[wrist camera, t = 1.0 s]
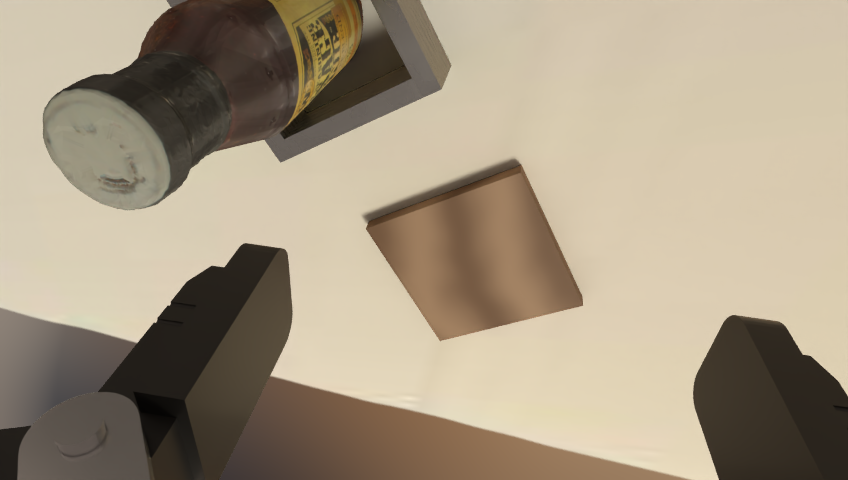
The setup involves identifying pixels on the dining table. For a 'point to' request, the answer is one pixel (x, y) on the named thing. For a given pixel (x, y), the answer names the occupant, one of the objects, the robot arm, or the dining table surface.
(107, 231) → the dining table surface
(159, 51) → the sauce bottle
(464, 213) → the walnut board
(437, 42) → the grey shallow box
